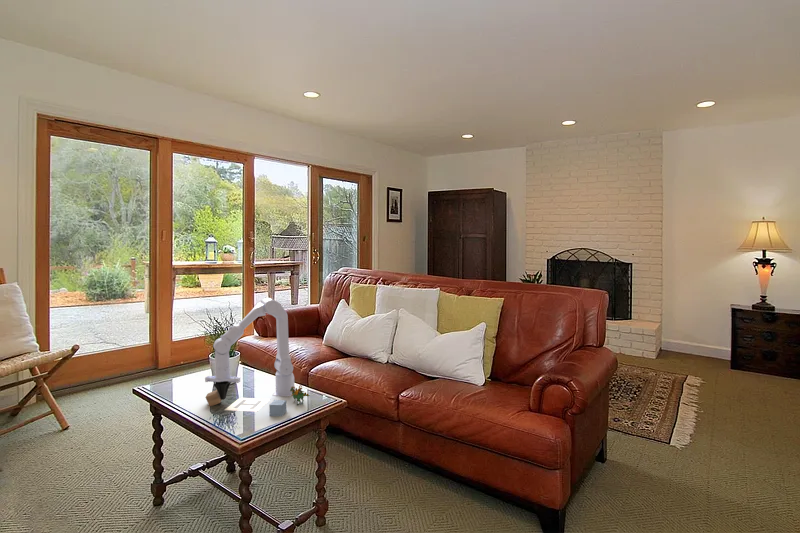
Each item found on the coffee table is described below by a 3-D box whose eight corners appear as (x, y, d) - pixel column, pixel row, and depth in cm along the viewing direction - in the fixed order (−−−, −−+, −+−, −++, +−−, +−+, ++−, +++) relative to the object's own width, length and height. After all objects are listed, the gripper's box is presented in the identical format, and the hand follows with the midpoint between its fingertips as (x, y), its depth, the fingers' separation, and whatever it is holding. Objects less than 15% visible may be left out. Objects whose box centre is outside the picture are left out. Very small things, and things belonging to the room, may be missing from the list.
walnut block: (211, 402, 188) (207, 393, 188) (222, 398, 189) (218, 389, 189) (209, 406, 184) (205, 397, 183) (220, 402, 185) (216, 392, 184)
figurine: (293, 399, 193) (292, 381, 192) (312, 405, 186) (312, 386, 185) (287, 401, 190) (287, 383, 190) (307, 408, 183) (307, 388, 183)
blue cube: (274, 412, 179) (274, 399, 179) (286, 412, 179) (286, 400, 178) (269, 417, 174) (269, 404, 174) (281, 417, 174) (281, 405, 173)
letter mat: (239, 398, 194) (239, 397, 194) (270, 399, 192) (270, 398, 192) (224, 411, 180) (224, 410, 180) (257, 412, 178) (257, 411, 178)
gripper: (200, 369, 183) (201, 401, 184) (234, 370, 181) (235, 402, 182) (209, 364, 190) (210, 395, 191) (242, 365, 188) (243, 396, 189)
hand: (223, 398), depth 187 cm, fingers closed
